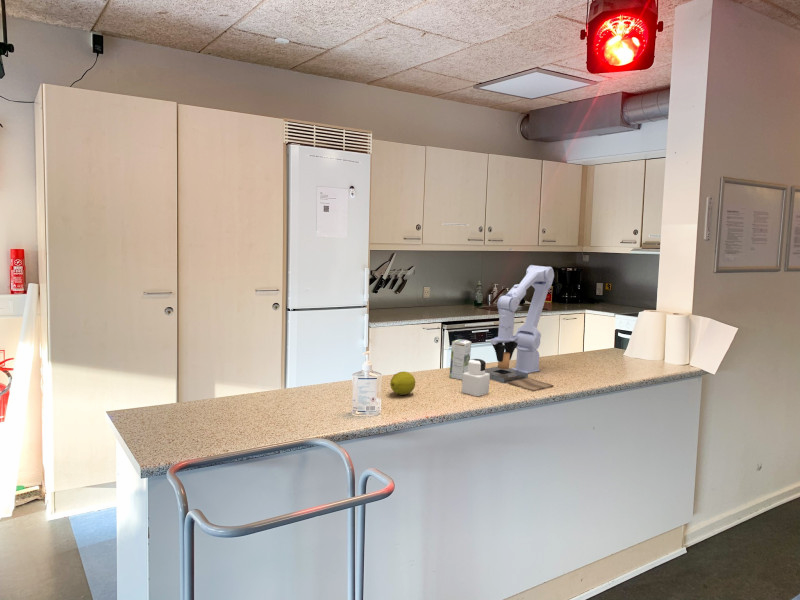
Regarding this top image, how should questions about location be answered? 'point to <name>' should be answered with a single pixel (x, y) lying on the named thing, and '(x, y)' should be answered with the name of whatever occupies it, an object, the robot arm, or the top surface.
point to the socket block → (505, 374)
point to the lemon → (402, 383)
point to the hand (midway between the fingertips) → (503, 360)
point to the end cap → (504, 361)
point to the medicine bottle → (476, 378)
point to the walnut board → (530, 384)
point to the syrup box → (459, 358)
